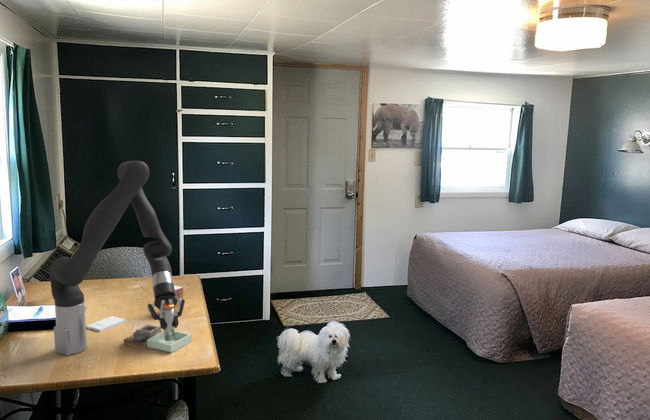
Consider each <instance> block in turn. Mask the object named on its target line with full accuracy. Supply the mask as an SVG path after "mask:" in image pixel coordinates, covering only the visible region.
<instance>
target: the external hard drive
mask: <svg viewBox="0 0 650 420" xmlns="http://www.w3.org/2000/svg"><path fill="white" fill-rule="evenodd" d="M124 323H126V319H125V318H121V317H117V316H113V315H111V316H109V317H108V316H107V317H106V318H103V319H100V320H98V321H95V322H93V323H90V324H87V325H86V330H90V331H91V330H93V331H95V332H98V333H101V332H103V331H105V330H108V329H112V328H114V327H116V326H119V325H121V324H124Z"/></svg>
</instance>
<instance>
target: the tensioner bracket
mask: <svg viewBox="0 0 650 420" xmlns="http://www.w3.org/2000/svg"><path fill="white" fill-rule="evenodd" d="M163 331H164V330H162V329H161V327H160V326H159V325H153V324H146V325H143V326H142V327H138V329H135V331H134V332H133V334H132V335H130V336H128V337H126V338H123V345H124V346H129V347H133V348H136V349H140V350H144V349H146V348H147V340H148V339H149V338H151V337H153V336H155V335H157V334H159V333H161V332H163Z"/></svg>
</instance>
